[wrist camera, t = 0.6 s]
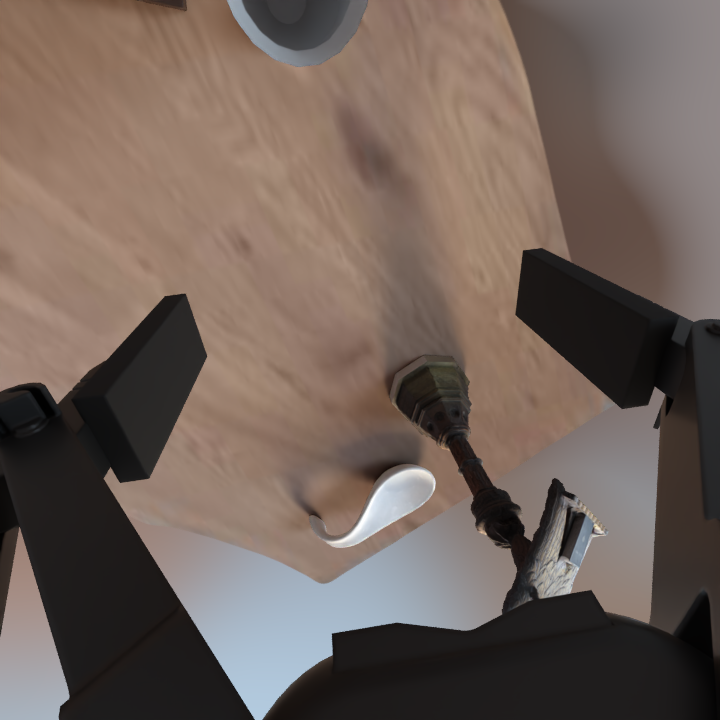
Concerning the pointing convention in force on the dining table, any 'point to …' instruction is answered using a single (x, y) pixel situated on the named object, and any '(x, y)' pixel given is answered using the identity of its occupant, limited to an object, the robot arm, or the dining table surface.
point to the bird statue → (491, 505)
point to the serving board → (169, 3)
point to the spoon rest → (384, 504)
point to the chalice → (299, 27)
